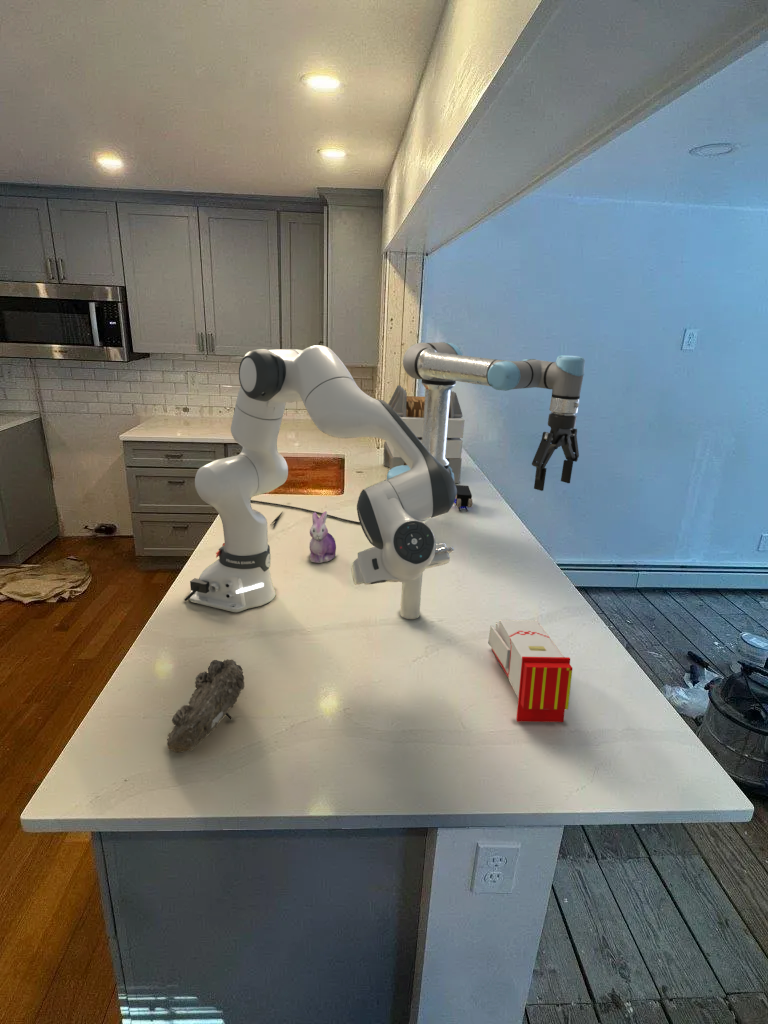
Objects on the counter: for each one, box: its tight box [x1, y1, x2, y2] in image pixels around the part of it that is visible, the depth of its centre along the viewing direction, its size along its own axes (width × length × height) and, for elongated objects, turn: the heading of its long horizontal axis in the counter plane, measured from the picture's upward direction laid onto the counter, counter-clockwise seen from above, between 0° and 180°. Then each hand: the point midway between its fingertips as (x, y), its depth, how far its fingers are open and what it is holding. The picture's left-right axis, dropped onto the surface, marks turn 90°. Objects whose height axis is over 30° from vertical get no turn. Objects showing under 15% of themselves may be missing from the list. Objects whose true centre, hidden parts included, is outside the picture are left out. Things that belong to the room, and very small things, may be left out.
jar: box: [399, 571, 424, 620], centre depth 145 cm, size 5×5×15 cm
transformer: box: [383, 384, 465, 484], centre depth 268 cm, size 34×33×41 cm
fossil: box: [166, 658, 245, 754], centre depth 106 cm, size 22×10×15 cm
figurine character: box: [453, 484, 473, 512], centre depth 229 cm, size 7×8×15 cm
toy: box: [488, 619, 573, 723], centre depth 122 cm, size 12×13×30 cm
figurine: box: [309, 510, 337, 564], centre depth 176 cm, size 9×10×15 cm
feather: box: [270, 512, 283, 529], centre depth 212 cm, size 2×28×2 cm
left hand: (397, 570), depth 123 cm, fingers open, 8 cm apart
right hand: (552, 485), depth 166 cm, fingers open, 13 cm apart
